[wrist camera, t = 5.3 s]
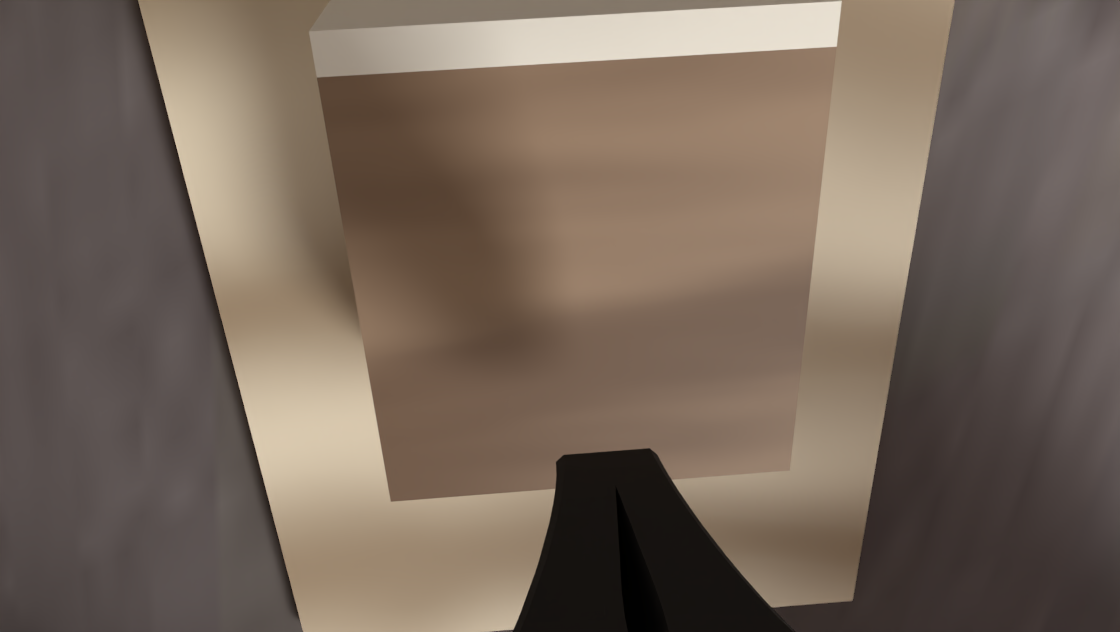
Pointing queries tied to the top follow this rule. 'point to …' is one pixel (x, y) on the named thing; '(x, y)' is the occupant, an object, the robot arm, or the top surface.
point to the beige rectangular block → (578, 227)
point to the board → (340, 364)
